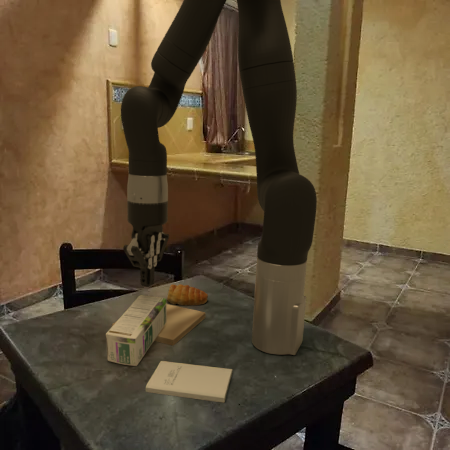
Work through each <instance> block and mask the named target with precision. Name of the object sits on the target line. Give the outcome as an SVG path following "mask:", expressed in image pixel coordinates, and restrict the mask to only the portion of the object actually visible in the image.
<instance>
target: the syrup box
mask: <svg viewBox="0 0 450 450" xmlns="http://www.w3.org/2000/svg"><path fill="white" fill-rule="evenodd" d="M166 304H167V297H159V296H153V295H142V294H140V295H139V296H138V297H137V298H136V299H135V300H134V301H133V302H132V303H131V304H130V305H129V307H128V308H127V309H126V310H125V311H124V313H123V314H122V315H121V316H120V317H119V318H118V320H116V321H117V322H116V321H115V322H116V323H115V322H114V323H115V324H114V325H113V326H112V325H111V327H110V328H109V330H108V331H107V332H106V333H105V337H106V338H105V339H106V355H107V356H106V357H107V361H108V362H112V363H114V364H115V363H116V364H120V365H125V366H132V367H137V366H138V365H139V364H140V362H141V361H142V359H143V358H144V356H146V355H145V354H146V353H147V351H148V350H149V348H150V347H151V346H152V345H153V343H154V342H155V341H154V340H155V339H156V337H157V336H158V334H159V333H160V331H161V330H162V328H163V327H164V325H165V324H166V322H167V308H166Z"/></svg>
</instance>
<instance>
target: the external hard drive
mask: <svg viewBox="0 0 450 450" xmlns="http://www.w3.org/2000/svg"><path fill="white" fill-rule="evenodd" d="M232 376H233V369H232V368H226V367H225V368H223V367H214V366H207V365H197V364H190V363H181V362H173V361H165V360H160V361H159V363H158V365H157V367H156V368H155V370H154V372H153V373H152V375H151V376H150V378H149V380H148V382H147V383H146V386H145V392H146V393H152V394H159V395H164V396H165V395H166V396H173V397H178V398H179V397H180V398H185V399H186V398H187V399H195V400H199V401H200V400H202V401H207V402H216V403H224V404H225V401H226V398H227V394H228V391H229V386H230V383H231V380H232Z"/></svg>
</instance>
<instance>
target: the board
mask: <svg viewBox="0 0 450 450" xmlns="http://www.w3.org/2000/svg"><path fill="white" fill-rule="evenodd" d="M166 308H167V322H166V324H165V325H164V327H163V328H162V330H161V331H160V333H159V334H158V336H157V337H156V339H155V340H154V341H153V342H157V343H161V344H165V345H168V346H175V345H177V343H178V342H179V341H181V340H182V339H183V338H184V337H185V336H187V335H188V334H189V333H190V332H191V331H192V330H193V329H195V328H196V327H197V326H198V325H199V324H201V322H203V320H205V319H206V316H207V315H206V312H204V311H199V310H196V309H190V308H186V307H182V306H178V305H174V304H170V303H169V304H168V303H166ZM117 321H118V320H116V321H115V322H113V323H111V327H112V326H113V325H114V324H115V323H116V322H117Z"/></svg>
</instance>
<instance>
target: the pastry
mask: <svg viewBox="0 0 450 450" xmlns="http://www.w3.org/2000/svg"><path fill="white" fill-rule="evenodd" d="M167 292H168V293H167V296H166V302H168V303H169V304H170V305H174V306H176V304H177V305H179V306H199V305H204V304H205V303H207V301H208V298H209V295H208V293H206V292H205V291H204V290H201V289H199V288H196V286H195V287H194V286H190V285H188V284H185V285H184V284H182V283H181V284H177V285H176V284H174V283H173V284H171V285H170V286H169V289H168V291H167Z"/></svg>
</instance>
